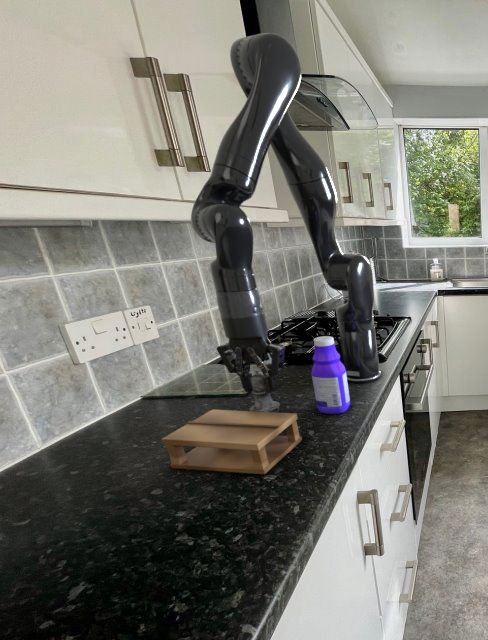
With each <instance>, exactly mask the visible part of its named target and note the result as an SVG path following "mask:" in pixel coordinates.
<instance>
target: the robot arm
mask: <svg viewBox="0 0 488 640" xmlns="http://www.w3.org/2000/svg"><path fill="white" fill-rule="evenodd" d="M229 59H230V63H231V68H232V70H233V74H234V76H235V78H236V80H237V82H238V84H239V86H240V89H241V90H242V92H243V93H244V96H245V98H246V101H245V103H244V105H243V106H242V108H241V109H240V111H239V113H238V114H237V115H236V116H235V118H234V120H233V121H232V123H231V124H230V125H229V127H228V128H227V129H226V132H224V134H223V136H222V139H221V141H220V143H219V144H218V145H219V146H218V149H217V152H216V154H215V159H214V161H213V164H212V169H211V173H210V176H209V177H208V179H207V180H206V182H205V184H204V185H203V186H202V188H201V190H200V192H199V194H198V195H197V197H196V199H195V201H194V202H193V205H192V208H191V213H190V224H191V227H192V229H193V231H194V233H195V234H196V235H197V236H198V237H199V238H200V239H202V240H203V241H205V242H206V243H207V242H208V243H209V244H210V243H211V244H215V245H214V246H215V257H216V258H214V259H212V260H211V261H210V263H209V269H210V274H211V278H212V279H211V280H212V283H213V286H214V287H213V288H214V291H215V296H216V304H217V308H218V312H219V317H220V320H221V324H222V327H223V331H224V335H225V337H226V338H227V339H228V342H226V343H223V344H221V345H219V346H217V347H216V351H217V353H218V354H219V357H220V359H221V360H222V363H223V364H224V366H225V368H226V369H227V371H228V373H230V374H236V375H237V376H238V377H239V379H240V382H241V386H242V389H243V390H244V392H245V393H252V391H253V388H252V384H251V377H252V376H253V374H252V373H251V364H252V362H253V363H254V364H255V365H256V367H257V368H258V369H259V370H260V371H261V374H262V375H264V376H265V377H264V380H265V385H266V389H267V392H268V393H270V394H273V393H274V392H276V391H277V389H278V388H279V387H278V386H279V384H278V380H277V376H276V375H278V374H279V373H281V372H282V371H284V368H285V354H286V347H285V344H280V345H276V344H273V343H272V341H271V340H270V339H269V337H268V333H269V329H268V325H267V324H268V323H267V320H266V315H265V310H264V305H263V301H262V298H261V294H260V292H259V289H258V284H257V280H256V275H255V271H254V268H253V262H254V232H253V231H254V230H253V227H252V223H251V220H250V219H249V216H248V215H247V213H246V212H245V211H244V210H243V209H242V208H241V206H242V204H243V203H244V202H246V201H248V200H251V198H252V197H253V196H254V194H255V192H256V189H257V186H258V182H259V179H260V177H261V173H262V169H263V166H264V162H265V159H266V157H267V153H268V151H269V148H270V147H271V149H272V151H273V154H274V156H275V159H276V161H277V163H278V165H279V167H280V169H281V172H282V174H283V177H284V180H285V182H286V185H287V187H288V189H289V191H290V194H291V195H292V198H293V201H294V202H295V204H296V207H297V209H298V211H299V214H300V216H301V218H302V221H303V223H304V226H305V228H306V231H307V233H308V236H309V238H310V242H311V244H312V247H313V250H314V252H315V255H316V256H315V257H316V259H317V262H318V265H319V268H320V272H321V274H322V276H323V279H324V281H325V283H326V284H327V285H328V286H329V287H330V288H331V289H332V290H335V291H340V292H347V301H346V303H344V304H340V305H339V306H337V307H336V309H335V314H336V320H337V327H338V334H339V340H340V341H339V342H340V347H341V355H342V360H343V365H344V367H345V370H346V376H347V382H349V383H354V384H363V383H369V382H370V383H371V382H374V381H376V380H378V379H379V378H380V377H381V369H380V361H379V352H378V344H377V335H376V327H375V318H374V307H375V294H374V292H375V291H374V275H373V270H372V266H371V264H370V262H369V260H368V258H367V257H366V256H364V255H361V254H356V253H354V254H353V253H352V254H351V253H343V252H342V250H341V247H340V245H339V241H338V240H337V237H336V231H335V225H336V217H337V209H338V195H337V192H336V188H335V185H334V183H333V180H332V177H331V174H330V172H329V170H328V168H327V164H325V162H324V160H323V158H322V157H321V156H320V154H319V153H318V152H317V150H316V149H315V148H314V147H313V146H312V145H311V143H310V142H309V141H308V140H307V139H306V138H305V136H304V134H302V132H301V131H300V130H299V128H298V127H297V125H296V124H295V122H294V120H293V117H291V114H290V112H289V109H288V108H289V106H290V104H291V103H292V100H293V98H294V97H295V95H296V93H297V92H298V89H299V87H300V84H301V80H302V65H301V61H300V58H299V56H298V53H297V52H296V50H295V49H294V46H293V45H292V44H291V43H290V42H289V41H288V40H287V39H286V38H285V37H283V36H281V35H280V34H277V33H274V32H263V33H257V34H253V35H249V36H244V37H240V38H238V39H236V40H235V41H233V42H232V44H231V46H230V50H229ZM263 360H264V361H263Z"/></svg>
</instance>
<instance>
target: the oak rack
mask: <svg viewBox="0 0 488 640" xmlns="http://www.w3.org/2000/svg"><path fill="white" fill-rule="evenodd" d="M298 419H299V418H298V414H297V413H294V412H293V413H290V412H289V413H288V412H278V413H273V412H253V411H250V410H234V409H233V410H229V409H211V410H209V411H207V412H205V413H204V414H202V415H200V416H198V417H197V418H196V419H194V420H188V421H187V422H186V424H184V425H183V426H181V427H180V428H178V429H176V430H174V431H173V432H171V433H169V434H167V435H166V436H164V437H162V438H161V439H160V440H161V441H162V442H161V443H162V445H163V446H165V448H166V450H167V453H168V456H169V459H170V462H171V463H170V464H169V466H170V468H171V469H181V470H195V471H196V470H197V471H210V472H211V471H213V472H225V473H240V474H241V473H242V474H255V475H266V474H267V473H268V472H270V470H271V469H273V467H275V466H276V465H277V464H278V463H279V462H280V461H281V460H282V459H283V458H284V457H285V456H287V454H289V453H290V452H291V451H292V450H293V449H294V448H296V447H297V446H298V444H299V443H301V442H302V441H303V437H302V436H300V432H299V431H300V430H299V427H298V422H297V420H298ZM284 430H285V432H286V435H281V433H282V432H284ZM184 447H195V448H193V449H191V450H189V451H187V453H186V452H185V450H184Z"/></svg>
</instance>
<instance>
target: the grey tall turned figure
mask: <svg viewBox="0 0 488 640" xmlns="http://www.w3.org/2000/svg"><path fill="white" fill-rule="evenodd" d="M254 373H255V374H252V377H251V384H252V388H253V391H251V394H252V395H253V397H254V405H252V406H250V408H249V411H253V412H273V413H280V406H281V403H280V402H279V401H275V400H273V399H272V397H271V393H268V392H267V389H266V385H265V380H264V377H265V376H264V375H263V373H259V370H255V372H254Z"/></svg>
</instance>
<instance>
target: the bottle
mask: <svg viewBox="0 0 488 640" xmlns="http://www.w3.org/2000/svg"><path fill="white" fill-rule="evenodd" d="M313 345H314V353H313V356H312V361H313V365H312V368H311V372H310V373H311V379H312V385H313V390H314V391H313V392H314V398H315V403H316V408H317V410H318V411H319V412H320V413H322V414H328V415H330V414H331V415H339V414H342V413H345V412H346V411H347V410H348V409H349V408H350V405H351V399H350V398H351V397H350V390H349V384H348V381H347V376H346V370H345V367H344V363H343V362H341V355H340V353H339V352H338V351H337V349H336V344H335V339H334V337H333V336H329V335H324V336H323V335H322V336H318V337H317V336H316V337H315V338H313Z"/></svg>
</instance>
